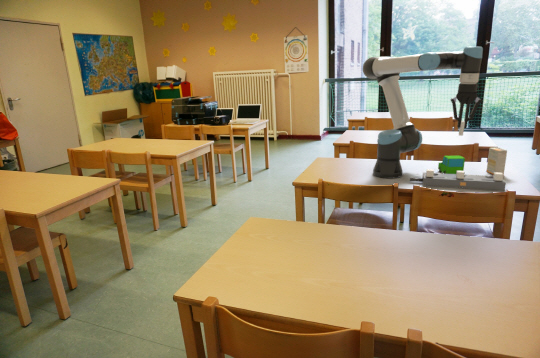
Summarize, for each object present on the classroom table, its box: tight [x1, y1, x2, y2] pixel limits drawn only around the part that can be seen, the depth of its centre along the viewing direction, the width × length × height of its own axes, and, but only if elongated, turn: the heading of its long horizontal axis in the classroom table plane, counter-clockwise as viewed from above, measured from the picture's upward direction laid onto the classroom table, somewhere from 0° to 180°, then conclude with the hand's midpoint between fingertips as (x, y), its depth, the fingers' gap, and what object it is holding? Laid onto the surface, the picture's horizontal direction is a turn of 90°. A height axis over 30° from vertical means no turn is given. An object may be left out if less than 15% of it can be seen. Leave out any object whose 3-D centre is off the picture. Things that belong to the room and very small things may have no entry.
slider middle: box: [456, 171, 466, 179], centre depth 171 cm, size 3×3×3 cm
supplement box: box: [486, 146, 508, 176], centre depth 189 cm, size 8×5×13 cm, turn 179°
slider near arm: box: [425, 168, 435, 177], centre depth 175 cm, size 3×3×3 cm
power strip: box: [409, 172, 507, 192], centre depth 174 cm, size 40×10×4 cm, turn 70°
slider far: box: [492, 172, 504, 181], centre depth 166 cm, size 3×3×3 cm
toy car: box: [437, 155, 466, 174], centre depth 192 cm, size 10×13×10 cm
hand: (460, 134), depth 171 cm, fingers closed
